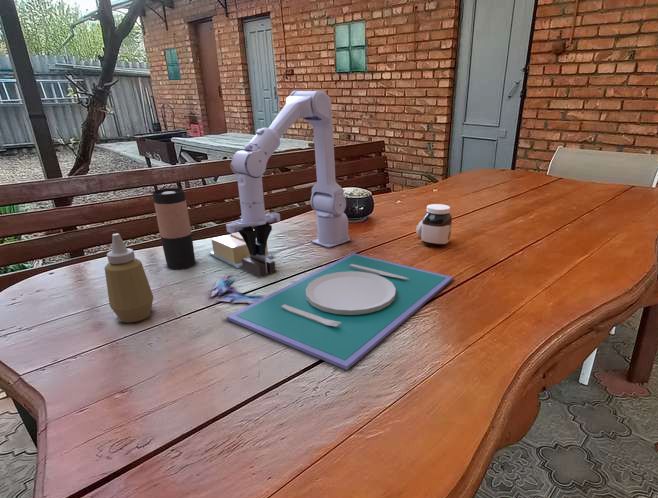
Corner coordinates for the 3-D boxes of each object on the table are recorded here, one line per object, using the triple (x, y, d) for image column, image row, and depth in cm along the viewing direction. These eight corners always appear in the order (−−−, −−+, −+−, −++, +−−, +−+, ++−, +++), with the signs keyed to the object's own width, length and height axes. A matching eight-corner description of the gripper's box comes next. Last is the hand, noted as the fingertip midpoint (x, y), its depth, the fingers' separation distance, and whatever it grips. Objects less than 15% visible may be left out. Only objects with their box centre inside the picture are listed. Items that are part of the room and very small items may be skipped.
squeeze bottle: (113, 329, 84) (90, 243, 76) (114, 312, 90) (92, 231, 83) (158, 320, 87) (139, 237, 80) (155, 304, 94) (138, 225, 86)
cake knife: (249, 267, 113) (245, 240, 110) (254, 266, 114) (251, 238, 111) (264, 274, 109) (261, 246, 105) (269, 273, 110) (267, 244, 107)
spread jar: (441, 250, 125) (444, 212, 120) (406, 244, 130) (408, 207, 126) (455, 239, 134) (459, 203, 130) (422, 233, 140) (424, 199, 135)
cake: (243, 245, 129) (241, 228, 127) (272, 257, 120) (271, 239, 118) (210, 254, 122) (207, 237, 120) (238, 268, 112) (236, 249, 110)
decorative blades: (194, 282, 102) (233, 272, 108) (195, 285, 103) (233, 274, 109) (231, 311, 89) (273, 297, 95) (232, 315, 89) (273, 300, 95)
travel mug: (159, 267, 113) (144, 192, 105) (180, 257, 120) (168, 186, 112) (182, 271, 111) (168, 195, 103) (202, 261, 117) (191, 189, 109)
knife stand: (258, 264, 115) (257, 253, 114) (275, 271, 110) (274, 261, 109) (242, 268, 112) (241, 258, 111) (260, 277, 107) (259, 266, 106)
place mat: (346, 370, 72) (346, 358, 71) (227, 319, 87) (225, 309, 86) (452, 280, 106) (453, 271, 105) (353, 255, 121) (353, 247, 120)
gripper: (234, 209, 97) (241, 265, 102) (285, 198, 106) (289, 249, 112) (218, 204, 101) (226, 257, 106) (269, 194, 111) (273, 243, 116)
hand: (257, 253), depth 109 cm, fingers closed
